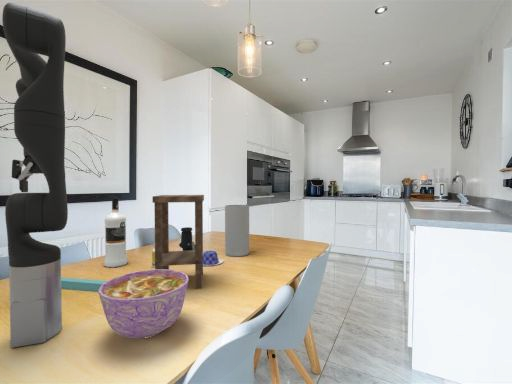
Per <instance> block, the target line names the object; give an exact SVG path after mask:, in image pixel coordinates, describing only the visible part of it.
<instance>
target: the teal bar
mask: <svg viewBox="0 0 512 384" xmlns="http://www.w3.org/2000/svg"><path fill="white" fill-rule="evenodd" d="M107 281H108V280H103V279H102V280H101V279H88V278H77V277H76V278H75V277H72V278H71V277H65V276H64V277H63V276H61V290H62V289H63V290H73V291H74V290H75V291H85V292H97V293H99V292H98V291H99V288H100V286H101V285H103V284H104V283H105V282H107Z"/></svg>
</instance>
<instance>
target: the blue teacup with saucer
mask: <svg viewBox="0 0 512 384" xmlns="http://www.w3.org/2000/svg"><path fill="white" fill-rule="evenodd" d="M223 262H224V260H223V259H222V258H218V253H217V252H216V250H205V251H203V267H205V266H206V267H207V266H208V267H209V266H217V265H220V264H223Z"/></svg>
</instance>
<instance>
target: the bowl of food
mask: <svg viewBox="0 0 512 384" xmlns="http://www.w3.org/2000/svg"><path fill="white" fill-rule="evenodd" d="M189 280H190V278H189V277H188V274H186V273H184V272H183V271H179V270H174V269H169V270H166V269H156V270H155V269H147V270H138V271H133V272H129V273H128V272H127V273H125V274H121V275H119V276H116V277H113V278H111V279H109V280H106V281H107V282H105V283H104V284H103V285H101V286H100V288H99V291H98V292H97V293H98V296H99V299H100V302H101V305H102V310H103V312H104V313H103V314H104V316H105V318H106V322H107V323H108V326H109V327H110V328H111V330H112V331H113V332H114V333H116V334H117V335H118V336H119V335H120V336H121V337H125V338H127V337H128V338H133V339H137V338H142V339H146V338H145V337H148V338H151V337H150V336H152V337H154V336H157V335H158V334H160V333H161V332H162V331H163V332H164V331H165V330H167V328H170V327H171V326H172V325H174V323H176V321H177V320H178V318H179V317H180V314H181V312H182V309H183V307H184V306H183V305H184V302H185V298H186V295H187V294H186V293H187V289H188V285H189ZM156 334H157V335H156ZM153 335H154V336H153Z"/></svg>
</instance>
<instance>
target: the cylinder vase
mask: <svg viewBox="0 0 512 384" xmlns="http://www.w3.org/2000/svg"><path fill="white" fill-rule="evenodd" d="M224 253H225V255H226V256H229V257H234V258H235V257H245V256H247V255H249V254H250V205H249V204H248V205H247V204H227V205H224Z"/></svg>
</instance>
